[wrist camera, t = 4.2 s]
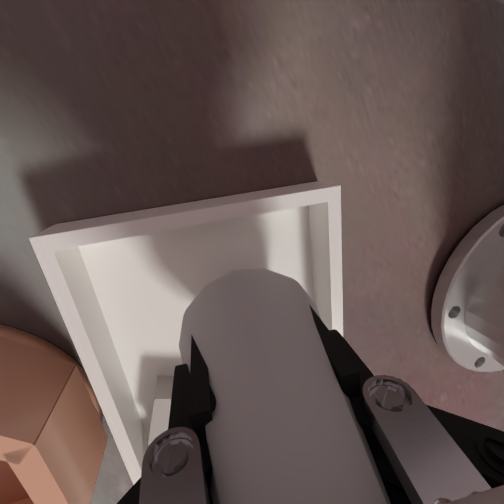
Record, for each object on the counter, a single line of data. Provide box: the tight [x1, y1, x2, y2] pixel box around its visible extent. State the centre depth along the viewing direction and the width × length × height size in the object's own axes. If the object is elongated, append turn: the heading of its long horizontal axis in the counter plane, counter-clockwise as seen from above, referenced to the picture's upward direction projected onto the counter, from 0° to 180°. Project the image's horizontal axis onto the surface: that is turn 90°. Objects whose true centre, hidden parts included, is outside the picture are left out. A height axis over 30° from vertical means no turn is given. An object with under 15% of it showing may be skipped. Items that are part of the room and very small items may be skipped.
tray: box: [29, 181, 343, 485], centre depth 14 cm, size 12×14×2 cm
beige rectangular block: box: [148, 376, 174, 445], centre depth 16 cm, size 4×3×2 cm
